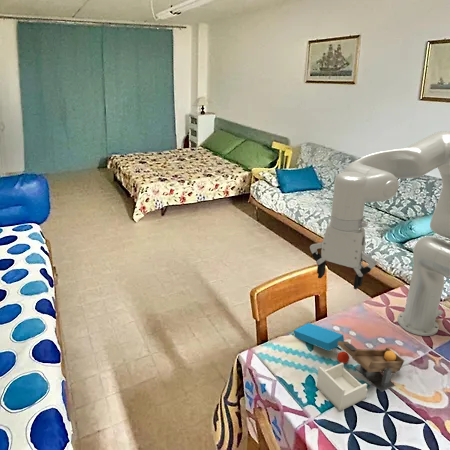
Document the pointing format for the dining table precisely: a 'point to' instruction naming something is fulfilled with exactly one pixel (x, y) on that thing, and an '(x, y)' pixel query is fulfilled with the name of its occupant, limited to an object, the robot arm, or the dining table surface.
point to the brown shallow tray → (371, 358)
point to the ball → (390, 356)
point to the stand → (377, 378)
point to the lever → (322, 339)
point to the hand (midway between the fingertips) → (338, 281)
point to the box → (340, 387)
